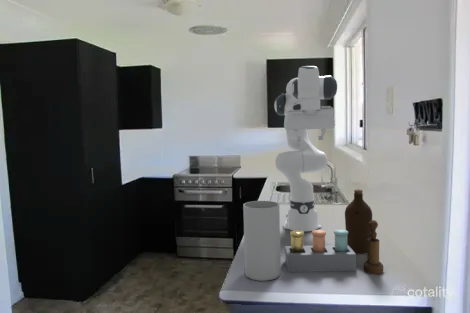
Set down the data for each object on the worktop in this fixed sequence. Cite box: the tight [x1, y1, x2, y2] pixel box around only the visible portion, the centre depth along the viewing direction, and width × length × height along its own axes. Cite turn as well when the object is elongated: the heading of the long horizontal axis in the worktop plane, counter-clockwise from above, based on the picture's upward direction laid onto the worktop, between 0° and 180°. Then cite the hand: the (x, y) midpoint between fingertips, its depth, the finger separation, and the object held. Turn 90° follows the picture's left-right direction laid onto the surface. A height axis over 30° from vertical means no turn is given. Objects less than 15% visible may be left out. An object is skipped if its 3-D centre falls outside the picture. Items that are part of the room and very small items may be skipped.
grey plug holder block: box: [284, 244, 357, 272], centre depth 136 cm, size 10×24×6 cm, turn 88°
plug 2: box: [311, 229, 327, 253], centre depth 135 cm, size 5×5×8 cm
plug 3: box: [333, 229, 348, 252], centre depth 135 cm, size 5×5×8 cm
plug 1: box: [289, 230, 305, 253], centre depth 135 cm, size 5×5×8 cm
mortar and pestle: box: [362, 219, 384, 275], centre depth 129 cm, size 7×6×18 cm
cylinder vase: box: [242, 200, 282, 282], centre depth 129 cm, size 12×12×25 cm
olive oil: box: [344, 189, 373, 255], centre depth 150 cm, size 11×11×25 cm
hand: (309, 140), depth 149 cm, fingers open, 8 cm apart
